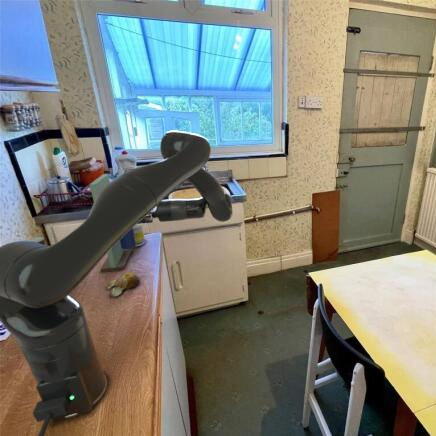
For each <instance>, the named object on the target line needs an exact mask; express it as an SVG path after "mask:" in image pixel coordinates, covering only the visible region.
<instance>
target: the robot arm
mask: <svg viewBox="0 0 436 436" xmlns="http://www.w3.org/2000/svg"><path fill="white" fill-rule="evenodd" d="M159 148H160V149H159V150H160V154H161V157H162V158H163V160H159V161H155V162H152V163H148V164H144V165H141V166H138V167H135V168H132V169H129V170H127V171H125V172H124V173H122V174H121V175H119V176H118V177H116V178H115V179H114V180H112V181H110V183H109V184H108V185H107V186H105V187H104V188H103V189H102V190H101V191H100V192H99V194H98V196H97V197H96V199H95V201H94V200H93V204H92V207H91V209H90V212H89V214H88V215H87V217H86V219H85V220H84V221H83V222H82V223H81V224H80V225H79V226H77V228H75V229H74V230H73V231H71V232H70V233H69V234H67V235H66V236H65V237H63V238H61V239H60V240H59V241H57V242H56V243H53V244H52V245H47V244H45V245H44V244H40V243H35V242H30V241H26V240H18V241H12V242H8V243H6V244H3V245H1V246H0V322H1V324H2V326H3V327H4V328H5V329H6V330H7V331H8V333H10V334H11V335H12V336H13V337H14V338H15V339H16V341H17V344H18V345H19V348H20V349H21V351H22V354H23V356H24V359H25V360H26V361H25V362H26V363H27V365H28V367H29V369H30V371H31V375H32V376H33V378H34V380H35V382H36V386H35V389H36V391H37V393H38V395H39V397H40V399H41V400H39V401H37V402H36V404H35V407H34V409H33V411H32V415H33V417H34V419H35V421H36V422H37V423H38V422H42V421H43V422H42V426H41V427H40V431H39V433H38V436H45V434H46V431H47V429H48V427H49V423H50V421H51V422H52V423H57V422H60V421H64V420H68V419H72V418H75V417H78V416H81V415H85V414H89V413H92V411H93V409H94V406H95V405H96V404H97V403H98V402H99V401H100V400H101V399H102V398H103V396H104V395H105V393H106V391H107V387H108V380H107V377H106V375H105V373H104V369H103V367H102V364H101V363H102V362H101V360H100V357H99V354H98V351H97V348H96V345H95V342H94V338H93V335H92V333H91V329H90V326H89V323H88V320H87V317H86V314H85V311H84V308H83V306H82V305H81V303H80V302H79V301H78V300H77V299H75V298H74V297H73V296H71V293H73V292H74V291H75V290H76V289H77V288H78V287H79V286H80V284H81V283H82V282H83V281H84V280H85V279H86V278H87V277H88V275H89V274H91V272H93V270H94V269H95V267H96V266H97V265H98V264H99V263H100V262H101V260H102V259H104V257H105V256H106V255H108V254H107V253H108V251H109V250H110V249H111V248H112V247H113V246H114V245H115V244H116V243H117V242H118V241H119V240H120V239H121V238H122V237H124V236H125V235H126V234H127V233H128V232H129V231H130V230H131V229H132V228H133V227H134V226H135V225H136V224H142V225H143V224H151V223H153V222H154V220H153V219H156V218H157V219H158V221H159V222H161V223H163V222H177V221H184V220H194V219H195V220H196V219H203V218H204V217H205V216H206V212H207V209H208V210H209V213H210V215H211V216H212V218H214V220H215V221H218V222H220V223H221V222H223V223H224V222H228V221H229V220H231V219H232V216H233V203H232V197H231V195H230V194H229V193H227V192H225V191H224V188H223V187H222V185H221V183H220V182H219V180H218V179H217V178H216V177H215V176H214V175H213V174H212V173H210V172H209V171H207V170H206V169H205V166H206V165H207V163H208V161H209V160H210V157H211V153H212V147H211V143H210V142H209V140H208V139H207V138H205V137H204V136H202V135H200V134H197V133H191V132H187V131H179V130H169V131H167V132H165V134H164V135H162V138H161V140H160V144H159ZM186 181H188V182H189V183H190V184H191V185H192V186H193V188H195V190H196V191H197V192H198V193H199V195H200V196H201V197H199V198H187V199H186V198H171V199H170V198H169V199H165V198H166V197H167V196H169V195H170V194H171V193H172V192H174V190H176V189H177V188H178V187H179V186H181V185H182V184H183V183H184V182H186Z"/></svg>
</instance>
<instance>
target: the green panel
mask: <svg viewBox="0 0 436 436" xmlns="http://www.w3.org/2000/svg"><path fill="white" fill-rule="evenodd" d="M109 183H111V181H110V178H109V174H108V173H103V174H101V175H100V176H99V177H98V178H96V179H95V180H94V181H92V182H91V183H89V187H90V192H91V196H92V199H93V202H94V201H95V199H96V197H97V196H98V194H99V192H100V191H101V190H102V189H103V188H104V187H105V186H107V185H108V184H109ZM131 254H132V249H122V248H121V243H120V240H119V241H118V242H117V243H116V244H115V245H114V246H113V247H112V248H111V249H110V250H109V251H108V253H107V254H106V255H107V258H106V259H105V261H104V263H103V264H102V266H101V268H100V271H101V273H105V272H114V271H121V270H124V269H125V266H126V265H127V263H128V260H129V258H130V256H131Z"/></svg>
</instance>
